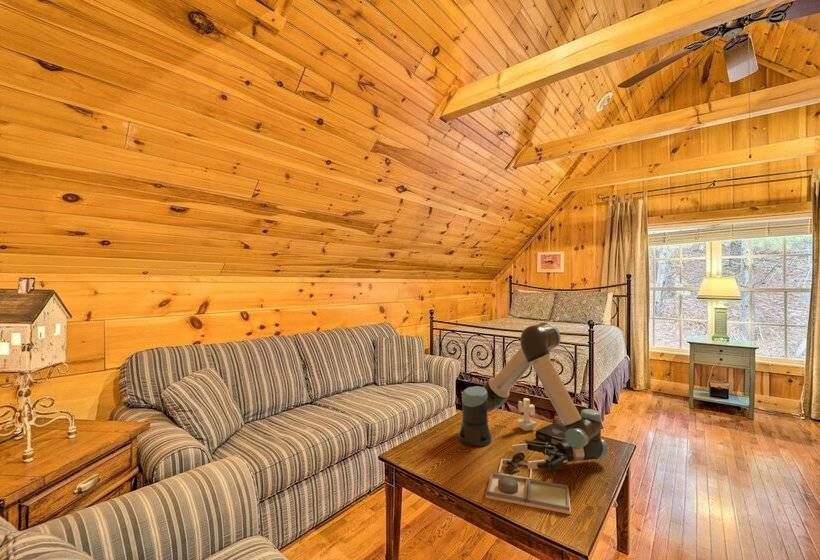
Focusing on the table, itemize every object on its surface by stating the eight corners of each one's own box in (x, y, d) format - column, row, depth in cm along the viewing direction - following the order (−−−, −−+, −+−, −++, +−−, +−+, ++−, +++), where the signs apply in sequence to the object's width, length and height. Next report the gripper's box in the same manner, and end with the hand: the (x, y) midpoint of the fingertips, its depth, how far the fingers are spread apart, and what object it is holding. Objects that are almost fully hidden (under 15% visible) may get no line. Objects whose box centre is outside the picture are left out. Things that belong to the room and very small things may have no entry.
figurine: (539, 429, 188) (539, 399, 187) (524, 433, 184) (524, 402, 184) (528, 424, 194) (528, 395, 194) (514, 427, 191) (514, 398, 190)
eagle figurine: (525, 475, 145) (529, 460, 153) (514, 459, 146) (519, 445, 154) (509, 480, 149) (513, 465, 157) (498, 464, 149) (503, 451, 157)
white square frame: (497, 475, 147) (497, 473, 147) (501, 460, 158) (501, 458, 158) (531, 481, 143) (531, 479, 143) (532, 465, 154) (532, 463, 154)
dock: (485, 497, 133) (485, 489, 133) (490, 477, 145) (490, 470, 145) (570, 514, 124) (570, 505, 124) (568, 491, 136) (568, 483, 136)
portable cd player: (535, 439, 179) (535, 431, 178) (555, 429, 189) (555, 421, 189) (568, 452, 166) (568, 443, 165) (588, 441, 176) (588, 432, 176)
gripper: (588, 477, 142) (536, 483, 138) (551, 446, 166) (506, 451, 162) (589, 457, 141) (536, 463, 137) (552, 429, 166) (506, 433, 162)
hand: (519, 456), depth 150 cm, fingers open, 13 cm apart
